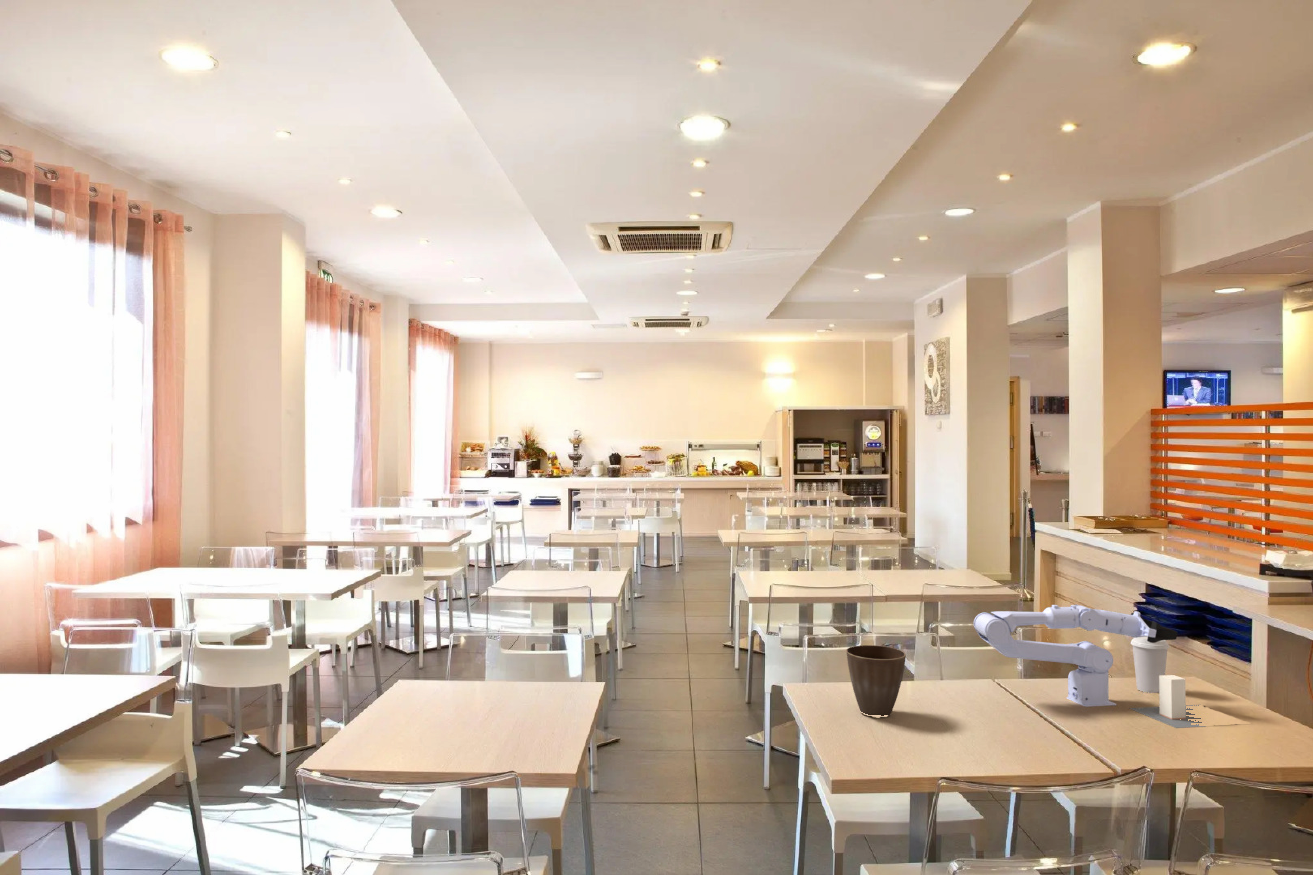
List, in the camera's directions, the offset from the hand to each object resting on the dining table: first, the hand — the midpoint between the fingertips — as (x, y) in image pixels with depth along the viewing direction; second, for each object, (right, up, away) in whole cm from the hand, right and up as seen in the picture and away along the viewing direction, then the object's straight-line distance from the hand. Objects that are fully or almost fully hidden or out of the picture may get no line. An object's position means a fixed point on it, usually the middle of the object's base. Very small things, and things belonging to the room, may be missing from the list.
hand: (1167, 631), depth 223 cm
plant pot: (-82, -19, -11) cm, 85 cm away
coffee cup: (+2, -20, +12) cm, 23 cm away
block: (-7, -19, -13) cm, 24 cm away
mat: (-2, -19, -12) cm, 23 cm away
